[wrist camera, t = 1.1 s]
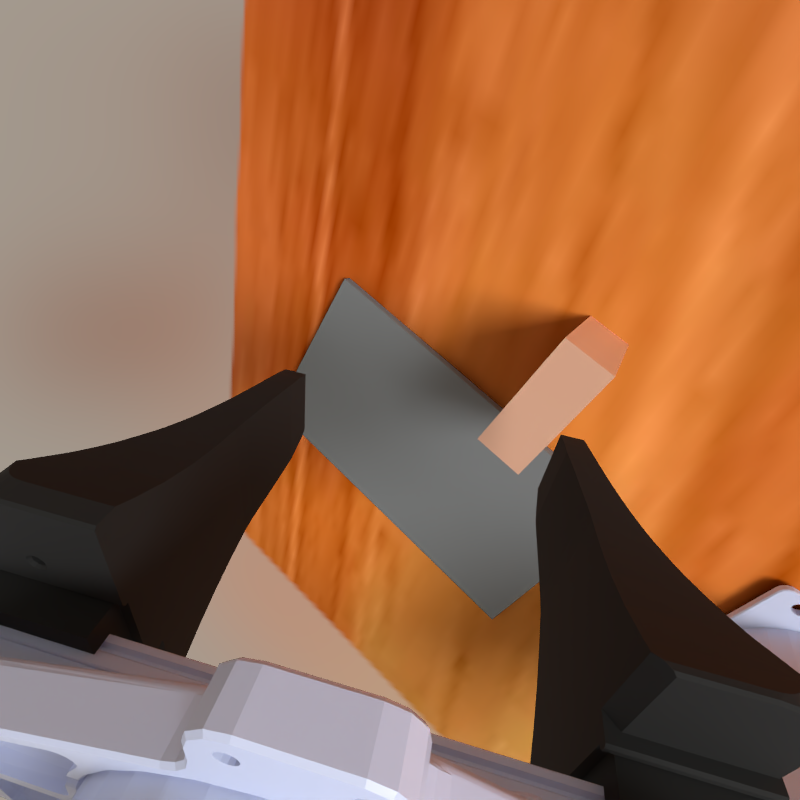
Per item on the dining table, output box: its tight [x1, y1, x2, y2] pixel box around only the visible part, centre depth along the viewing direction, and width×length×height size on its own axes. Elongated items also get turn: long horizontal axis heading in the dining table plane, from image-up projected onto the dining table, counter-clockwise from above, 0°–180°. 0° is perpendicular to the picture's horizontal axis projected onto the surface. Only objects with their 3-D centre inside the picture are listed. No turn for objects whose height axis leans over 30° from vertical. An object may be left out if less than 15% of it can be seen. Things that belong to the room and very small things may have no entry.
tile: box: [478, 316, 629, 475], centre depth 19 cm, size 2×5×6 cm, turn 144°
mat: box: [296, 278, 553, 619], centre depth 26 cm, size 18×10×1 cm, turn 54°
